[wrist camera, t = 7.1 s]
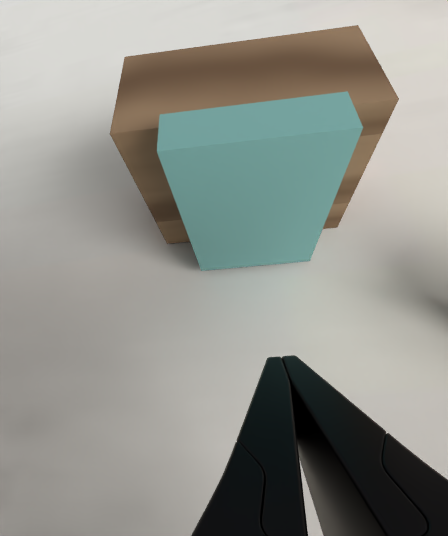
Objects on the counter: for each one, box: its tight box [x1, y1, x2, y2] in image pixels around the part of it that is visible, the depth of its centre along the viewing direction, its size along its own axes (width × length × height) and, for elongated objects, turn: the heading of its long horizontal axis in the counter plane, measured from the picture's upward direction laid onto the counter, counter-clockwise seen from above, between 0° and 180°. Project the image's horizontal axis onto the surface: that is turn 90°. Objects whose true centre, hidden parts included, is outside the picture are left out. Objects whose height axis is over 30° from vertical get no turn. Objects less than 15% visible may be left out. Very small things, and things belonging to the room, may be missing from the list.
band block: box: [110, 25, 399, 244], centre depth 17 cm, size 6×12×9 cm, turn 93°
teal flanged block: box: [157, 91, 363, 271], centre depth 16 cm, size 9×7×10 cm
